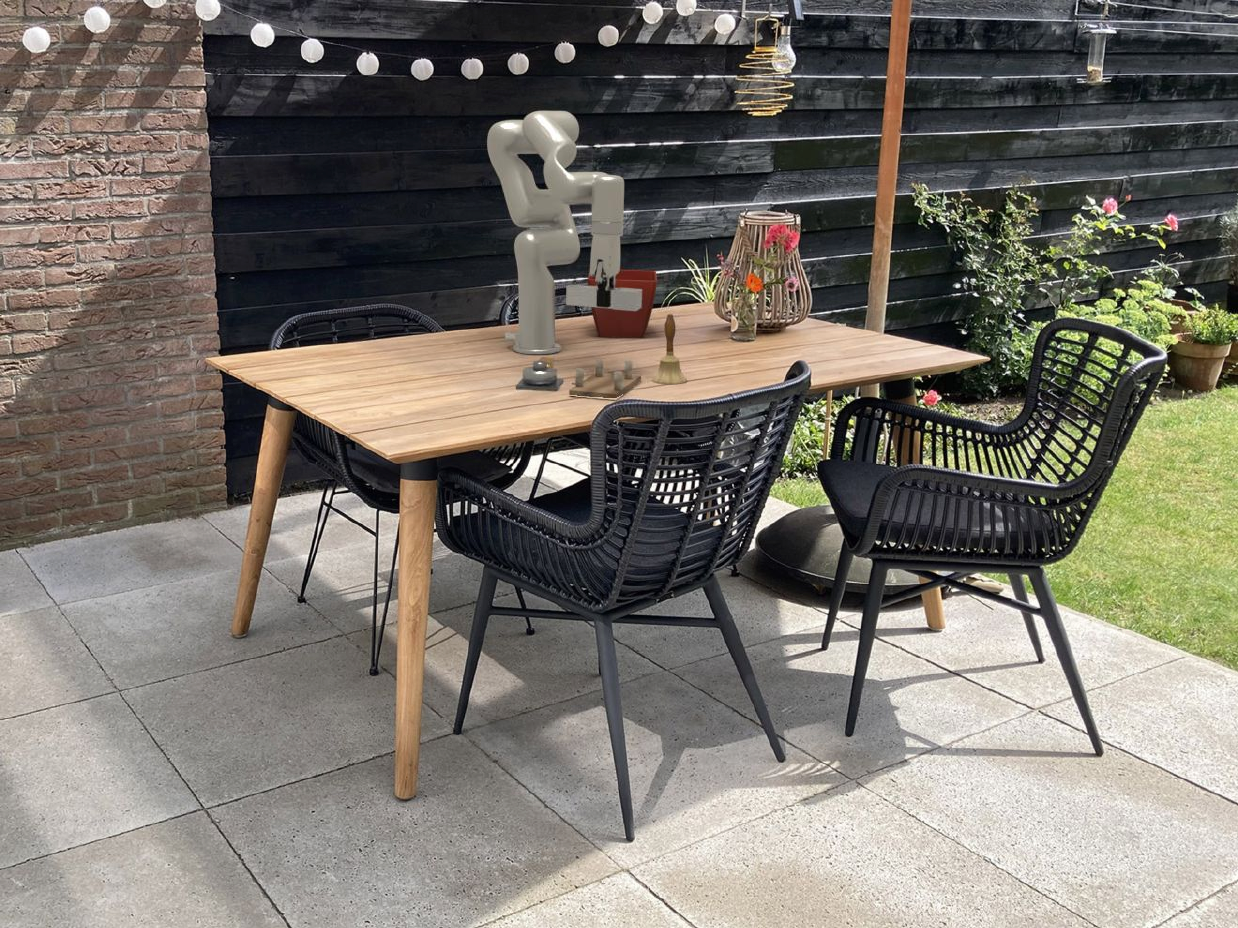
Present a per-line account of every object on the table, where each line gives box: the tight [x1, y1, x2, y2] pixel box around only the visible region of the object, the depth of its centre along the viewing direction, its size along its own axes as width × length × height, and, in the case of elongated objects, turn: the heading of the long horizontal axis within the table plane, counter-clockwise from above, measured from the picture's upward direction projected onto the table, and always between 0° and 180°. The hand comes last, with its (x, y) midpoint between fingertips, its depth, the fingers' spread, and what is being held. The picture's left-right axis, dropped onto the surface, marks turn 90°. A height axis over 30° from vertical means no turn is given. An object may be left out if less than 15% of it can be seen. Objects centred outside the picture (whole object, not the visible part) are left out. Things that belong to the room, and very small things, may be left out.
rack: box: [568, 358, 642, 401], centre depth 287 cm, size 11×20×6 cm, turn 163°
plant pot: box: [586, 269, 658, 339], centre depth 352 cm, size 19×19×17 cm
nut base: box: [515, 377, 564, 392], centre depth 290 cm, size 10×14×1 cm, turn 83°
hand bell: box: [651, 313, 688, 385], centre depth 296 cm, size 8×8×16 cm
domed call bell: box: [522, 356, 558, 384], centre depth 293 cm, size 14×8×4 cm, turn 173°
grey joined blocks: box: [565, 283, 642, 311], centre depth 301 cm, size 18×5×4 cm, turn 73°
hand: (605, 304), depth 301 cm, fingers closed on grey joined blocks, 3 cm apart
